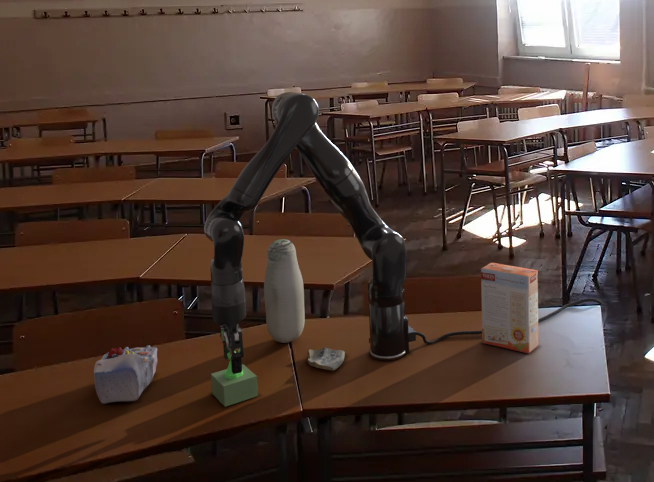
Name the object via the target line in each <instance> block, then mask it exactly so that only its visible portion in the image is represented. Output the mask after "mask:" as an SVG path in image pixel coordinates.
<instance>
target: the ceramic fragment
mask: <svg viewBox="0 0 654 482" xmlns="http://www.w3.org/2000/svg"><path fill="white" fill-rule="evenodd" d="M345 356H346V352H345V351H344V350H342V349H332V348H328V347H321V348H320V349H315V350H313V349H308V350H307V363H308V365H309V366H311V367H312V368H313V367H314V368H317V369H321V370H325V371H330V372H333V371H335V370H337V369H338V368H340V367H341V366H342V365H343V362H344V361H345Z"/></svg>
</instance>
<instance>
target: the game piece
mask: <svg viewBox="0 0 654 482" xmlns="http://www.w3.org/2000/svg"><path fill="white" fill-rule="evenodd" d="M234 351H235V353H237V352H236V350H234ZM227 356H228V359H227V360H229V361H228V366H227V368H226V369H227V370H226V371H225V373H224V377H225V378H228V379H235V378H238V377H240V376H242V374H243V369H242V372H241V373H237V374H233V373H232V367H231V358H230V352H229V353H228V354H227Z"/></svg>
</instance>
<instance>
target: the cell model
mask: <svg viewBox="0 0 654 482" xmlns="http://www.w3.org/2000/svg"><path fill="white" fill-rule="evenodd" d="M158 362H159V361H158V348H157V347H155V346H151V345H146V346H145V347H137V346H136V347H132V348H129V346H125V347H124V348H123V349H122V347H119V346H118V347H115V348H110V350H109V351H108V352H106V353H105V354H103V355H102V357H101V359H98V360H97V361H96V362H95V364H94V367H93V376H94V377H93V378H94V379H93V380H94V388H95V392H96V395H97V398H98V399H99V402H100V403H101V404H102V405H105V404H110V403H117V402H126V403H127V402H136V401H138V400H139V398H140V397H141V395H142V394H143V392H144V391H145V390H146V389H147V388H148V386H149V385H150V384H151V383H152V381H153V380H154V375H155V373H156V370H157V365H158Z"/></svg>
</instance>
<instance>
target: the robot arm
mask: <svg viewBox="0 0 654 482" xmlns="http://www.w3.org/2000/svg"><path fill="white" fill-rule="evenodd" d="M271 114H272V119H273V121H274V122H275V124H276V126H275V129H274V131H273V132H272V133H271V136H270V137H269V139H268V140H267V141H266V143H264V145H263V146H262V147H261V148H260V150H259V151H258V152H257V153H255V155H253V157H252V158H251V159H250V160H249V161H248V163H246V164H245V166H244V168H243V169H242V170H241V171H240V173H239V175H238V176H237V178H236V179H235V181H234V183H233V184H232V186H231V188H230V189H229V191H228V192H227V194H226V195H225V196H224V197H223V198H222V199H220V201H219V202H218V203H217V204H216V206H215V207H214V208H213V209H212V210H211V212H210V213H209V214H208V215H207V218H206V220H205V222H204V225H203V226H204V227H203V230H204V231H203V232H204V235H205V236H206V238H207V239H208V240H209V241H211V242H212V243H213V257H212V258H211V260H210V262H209V263H210V264H209V268H210V269H209V270H210V271H209V272H210V282H211V283H210V299H211V312H212V314H211V315H212V320H213V322H214V323H215V324H218V325H219V337H220V339H221V344H222V345H223V346H222V347H223V358H224V359H225V360H226V361H227V360H229V359H228V356H227V354H228V353H229V352H230V358H231V367H232V373H233V374H237V373H241V372H242V362H243V361H242V358H244V357H245V353H244V342H243V332H242V328H241V326H239V323H240V322H241V321H243V320H244V319H245V318H246V317H247V304H246V303H247V301H246V289H245V283H244V277H243V263H242V259H243V255H244V246H245V233H244V228H243V225H242V224H241V222H240V221H241V219H242V218H243V216H244V215H245V214H246V213H248V212H249V213H250V212H253V211H254V210H255V208H256V207H257V206H258V204H259V203H260V202H261V199H262V198H263V196H264V195H265V193H266V192H267V190H268V188H269V186H270V185H271V184H272V181H273V180H274V178H275V176H276V175H277V173H278V172H279V171H280V169H281V167H282V166H283V165H284V164H285V162H286V160H287V159H288V158H289V156H290V155H291V154H292V153H293V152H294V150H295V149H297V150H298V153H300V155H301V156H302V158H303V161H304V162H305V164H306V166H307V167H308V168H309V170H310V172H311V174H312V175H313V177H314V178H315V180H316V182H317V183H318V185H319V186H320V188H321V189H322V191H323V192H324V194H325V195H326V197H327V198H328V200H329V201H330V202H331V204H332V205H333V206H334V208H335V209H336V210H337V211H338V213H339V214H340V215H341V216H342V217H343V219H344V220H345V221H346V222H347V224H348V225H349V226H350V228H351V230H352V232H353V234H354V235H355V238H356V239H357V242H358V244H359V245H360V247H361V249H362V251H363V253H364V255H365V256H366V257H367V258H368V259H369V260H371V261H372V262H371V263H372V276H371V277H370V278H369V279H368V280H367V296H368V297H367V298H368V299H367V301H368V322H369V323H368V324H369V338H368V344H369V345H370V346H369V347H370V348H369V353H370V354H369V355H370V357H371V358H373V359H375V360H377V361H388V362H389V361H395V360H399V359H401V358H403V357H404V356H406V355H408V354H410V343H412V342H416V341H417V336H419V337H421V338H422V341H423V343H424V344H425V345H433V344H435V343H437V342H440V341H443V340H444V339H446V338H450V337H453V336H462V335H465V336H466V335H482V330H463V331H462V330H461V331H452V332H448V333H445V334H443V335H441V336H439V337H438V338H436V339H434V340H427V338H426V337H427V336H426V335H425V334H424V333H422V332H419V331H415V330H414V328H412V327H411V326H410V325H409V319H408V318H409V317H407V316H406V306H405V305H406V303H405V302H406V301H405V282H406V280H407V275H408V274H407V273H408V269H407V267H408V265H407V264H408V254H407V244H406V241H405V239H404V237H403V235H401V234H399V232H396V231H395V230H394V229H392V228H390V227H389V226H388V225H387V224H386V223H385V222H384V221H383V220H382V219H381V217H380V216H379V214H378V213H377V211H375V209H374V208H373V206H372V204H371V201H370V199H369V195H368V192H367V189H366V187H365V184H364V182H363V180H362V178H361V177H360V175H359V173H358V172H357V170H356V169H355V167H354V166H353V164H352V163H351V162H350V160H349V159H348V158H347V156H346V155H344V153H343V152H342V151H340V149H339V148H338V147H337V146H336V145H335V144H333V143H332V142H331V140H330V139H329V138H327V136H326V135H325V134H324V132H322V130H321V128H320V127H319V125H318V124H317V121H318V119H319V117H320V116H319V115H320V108H319V104H318V103H317V101H316V100H315V98H314V97H312V96H311V95H309V94H306V93H302V92H296V91H286V92H283V93H280V94H278V95H277V96H276V97H275V98H274V100H273V102H272V104H271ZM587 302H593V303H596V304H599V305H604V303H603V302H602V301H601V300H599V299H597V298H594V297H593V298H592V297H588V298H583V299H580V300H576V301H573V302H569V303H567V304H564V305H562V306H560V307H559V308H558V309H556V310H554V311H552V312H551V313H548V314H547V315H544V316H542V317H540V318H538V324H539V323H541V322H543V321H545V320H548V319H549V318H551V317H553V316H555V315H557V314H559V313H561V312H562V311H564V310H565V309H567V308H570V307H574V306H577V305H579V304H583V303H587ZM236 350H237V352H236V353H235V351H236ZM608 425H609V424H608V423H607V424H606V425H605V426H604V430H609V429H608V428H609V427H608Z"/></svg>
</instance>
